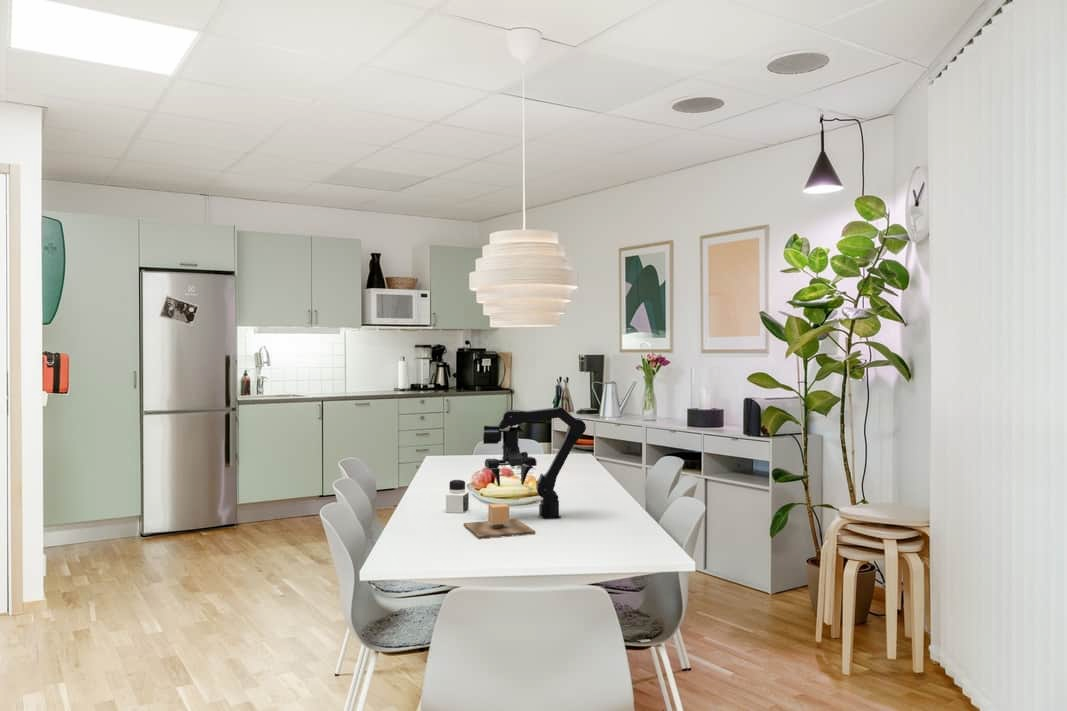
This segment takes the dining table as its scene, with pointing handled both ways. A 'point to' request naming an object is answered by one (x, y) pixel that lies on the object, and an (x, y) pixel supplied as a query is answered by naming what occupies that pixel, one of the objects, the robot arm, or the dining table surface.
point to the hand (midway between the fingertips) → (510, 485)
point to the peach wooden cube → (498, 513)
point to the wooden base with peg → (498, 529)
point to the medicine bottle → (457, 497)
